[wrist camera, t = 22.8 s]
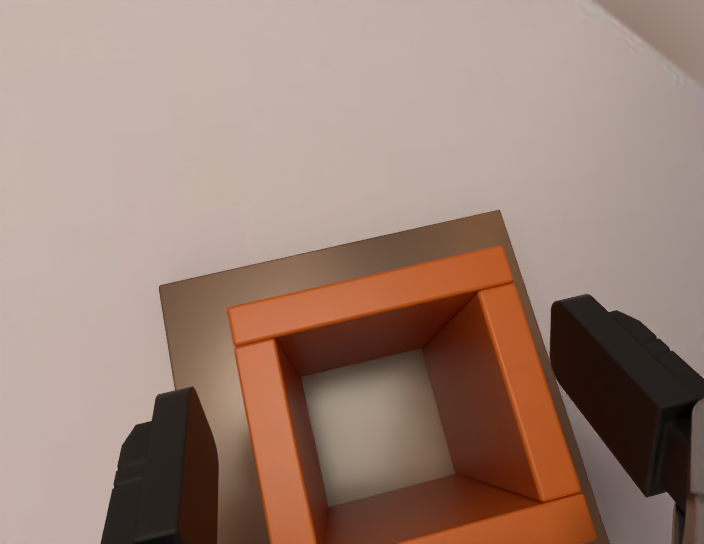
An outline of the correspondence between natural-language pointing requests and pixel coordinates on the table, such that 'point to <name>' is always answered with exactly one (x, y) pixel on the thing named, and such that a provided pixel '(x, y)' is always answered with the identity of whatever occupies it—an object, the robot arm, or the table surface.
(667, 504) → the table surface
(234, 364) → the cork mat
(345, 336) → the orange square tube
